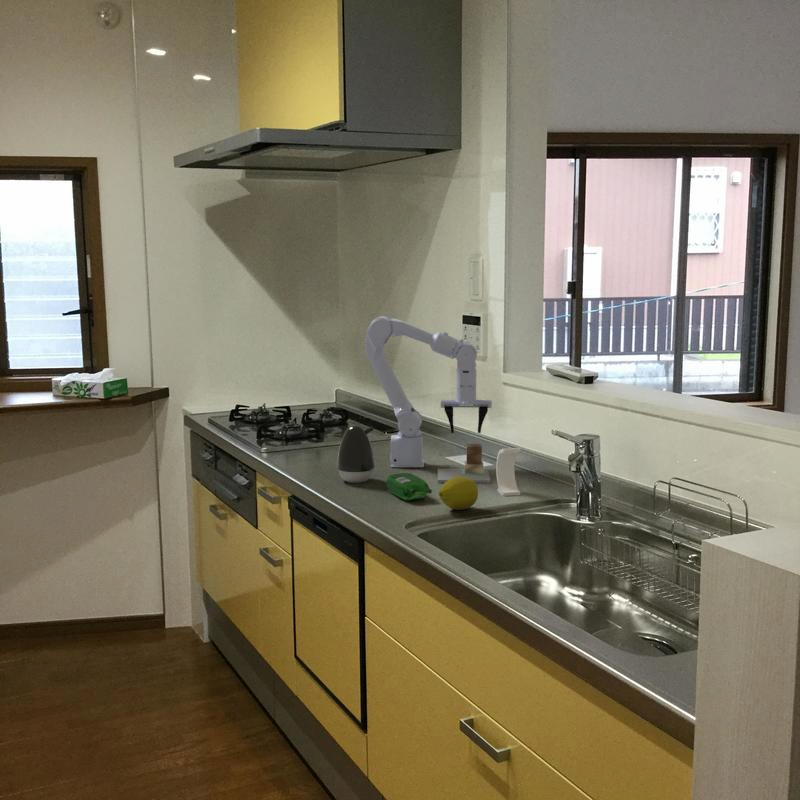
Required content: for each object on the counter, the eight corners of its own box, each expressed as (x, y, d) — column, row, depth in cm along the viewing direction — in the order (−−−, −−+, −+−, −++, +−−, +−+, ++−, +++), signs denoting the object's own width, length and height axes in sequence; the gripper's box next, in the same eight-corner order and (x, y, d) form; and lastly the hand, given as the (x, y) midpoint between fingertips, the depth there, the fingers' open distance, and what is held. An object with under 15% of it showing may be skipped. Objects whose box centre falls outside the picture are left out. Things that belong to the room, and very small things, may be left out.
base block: (465, 473, 260) (465, 464, 260) (464, 469, 265) (464, 460, 265) (483, 473, 260) (483, 464, 260) (482, 469, 265) (482, 460, 265)
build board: (437, 482, 254) (437, 479, 253) (437, 471, 267) (437, 468, 267) (490, 483, 253) (490, 480, 253) (487, 471, 267) (487, 468, 267)
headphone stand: (502, 496, 240) (503, 449, 238) (495, 490, 245) (496, 444, 244) (520, 495, 240) (520, 448, 239) (513, 489, 246) (513, 444, 244)
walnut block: (467, 464, 260) (467, 446, 260) (466, 461, 264) (466, 443, 264) (481, 464, 260) (481, 446, 260) (480, 461, 264) (481, 443, 263)
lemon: (470, 503, 232) (470, 471, 231) (486, 511, 225) (486, 478, 224) (430, 508, 228) (430, 475, 227) (445, 516, 221) (446, 482, 220)
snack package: (406, 505, 231) (406, 485, 230) (383, 491, 245) (383, 471, 245) (433, 503, 234) (433, 482, 233) (408, 488, 248) (408, 469, 247)
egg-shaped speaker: (381, 482, 254) (381, 426, 252) (346, 486, 250) (345, 430, 247) (366, 474, 263) (365, 420, 261) (331, 478, 259) (330, 423, 256)
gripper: (440, 387, 267) (440, 434, 269) (492, 387, 266) (491, 435, 268) (440, 384, 274) (440, 430, 276) (491, 384, 273) (490, 430, 275)
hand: (465, 432), depth 272 cm, fingers open, 7 cm apart
